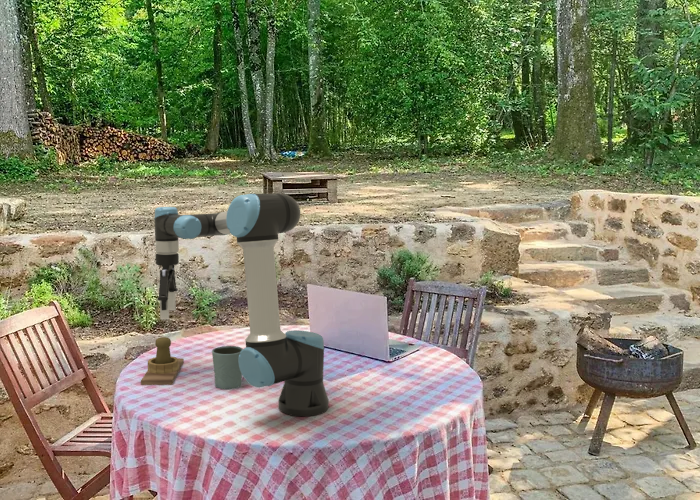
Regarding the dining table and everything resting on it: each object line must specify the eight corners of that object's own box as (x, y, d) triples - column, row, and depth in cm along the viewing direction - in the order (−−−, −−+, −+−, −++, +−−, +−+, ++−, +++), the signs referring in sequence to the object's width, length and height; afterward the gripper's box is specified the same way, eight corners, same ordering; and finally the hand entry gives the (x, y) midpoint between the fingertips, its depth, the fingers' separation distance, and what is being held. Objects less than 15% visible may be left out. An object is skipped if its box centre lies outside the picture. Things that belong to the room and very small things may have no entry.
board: (172, 384, 213) (171, 371, 213) (140, 385, 212) (140, 371, 212) (183, 362, 237) (183, 350, 236) (155, 362, 236) (155, 350, 235)
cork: (167, 372, 221) (167, 340, 219) (151, 370, 222) (150, 339, 221) (175, 366, 227) (175, 336, 225) (159, 365, 228) (159, 335, 226)
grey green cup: (236, 391, 208) (236, 355, 207) (207, 388, 210) (206, 352, 209) (247, 381, 218) (247, 346, 217) (219, 378, 220) (219, 344, 219)
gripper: (162, 248, 230) (163, 306, 233) (148, 258, 206) (149, 323, 209) (183, 248, 231) (184, 306, 234) (172, 258, 207) (173, 323, 209)
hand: (168, 314), depth 221 cm, fingers open, 13 cm apart
